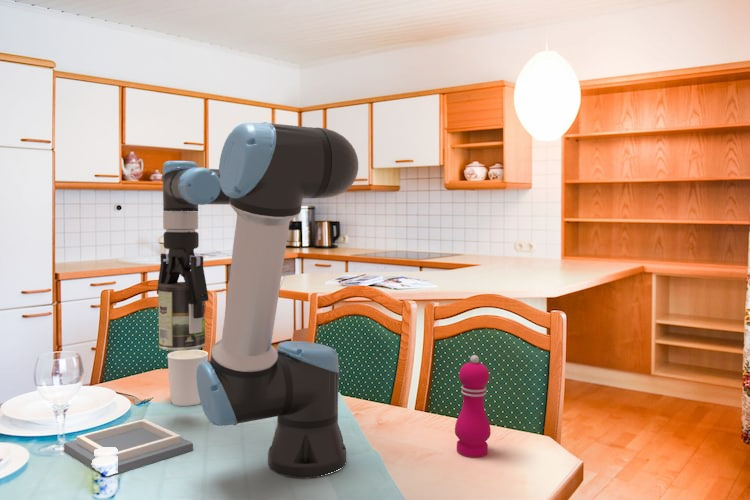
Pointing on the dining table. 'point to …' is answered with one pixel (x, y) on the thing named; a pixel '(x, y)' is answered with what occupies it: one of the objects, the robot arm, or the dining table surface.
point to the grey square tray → (130, 444)
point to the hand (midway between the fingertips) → (182, 329)
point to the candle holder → (184, 376)
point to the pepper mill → (473, 410)
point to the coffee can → (177, 319)
